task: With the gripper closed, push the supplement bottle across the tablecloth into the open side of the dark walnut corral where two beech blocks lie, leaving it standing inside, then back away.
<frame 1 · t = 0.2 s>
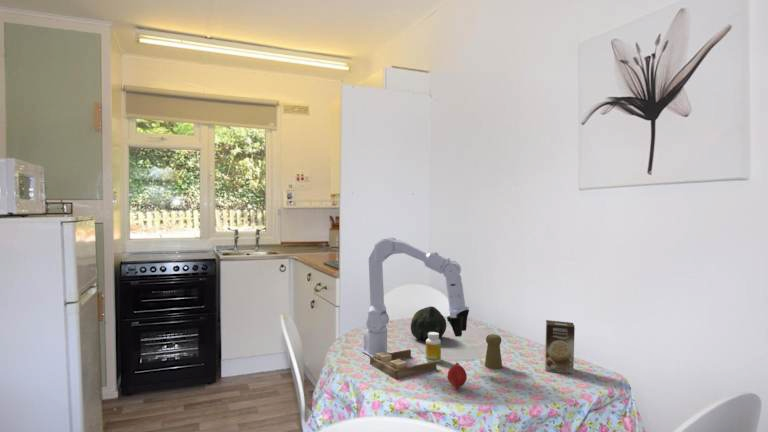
hand: (460, 333, 158), 10 cm above the table, tool pointing down, fingers open, 7 cm apart
squash: (428, 339, 187), on the table
coffee box: (558, 370, 152), on the table
block b: (398, 373, 147), resting in corral
onion: (456, 388, 135), on the table
supplement bottle: (433, 360, 161), on the table
block a: (383, 365, 155), on the table
cork: (493, 366, 155), on the table
corral: (403, 366, 154), on the table
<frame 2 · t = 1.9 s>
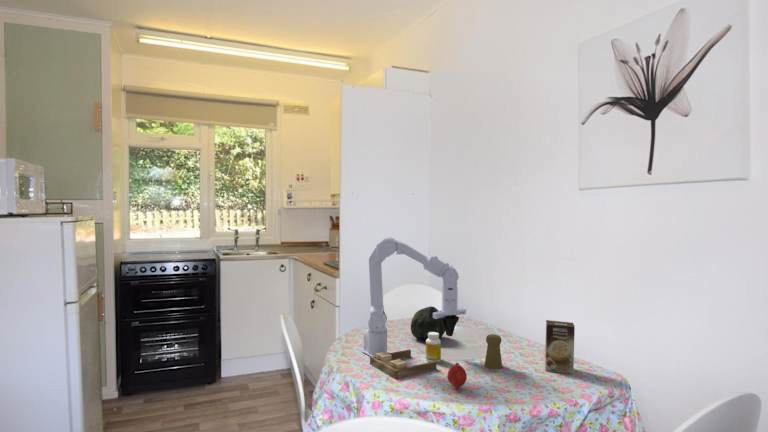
hand: (449, 335, 165), 8 cm above the table, tool pointing down, fingers closed
nothing on the table moved.
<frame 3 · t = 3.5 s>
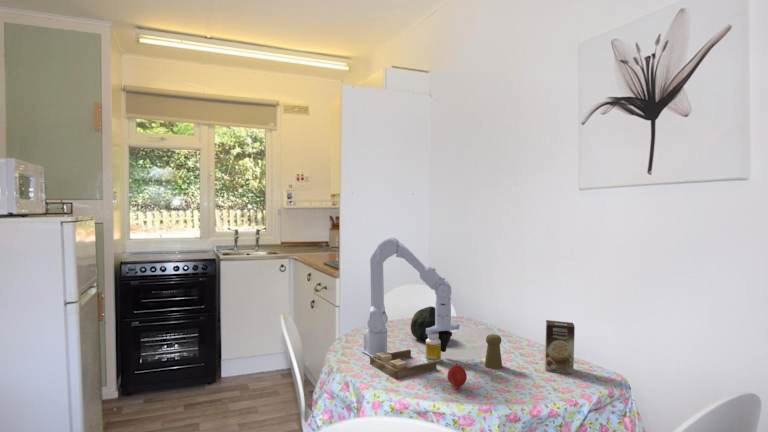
hand: (442, 351, 163), 2 cm above the table, tool pointing down, fingers closed
supplement bottle: (433, 360, 161), on the table, touching gripper
everything else where it was.
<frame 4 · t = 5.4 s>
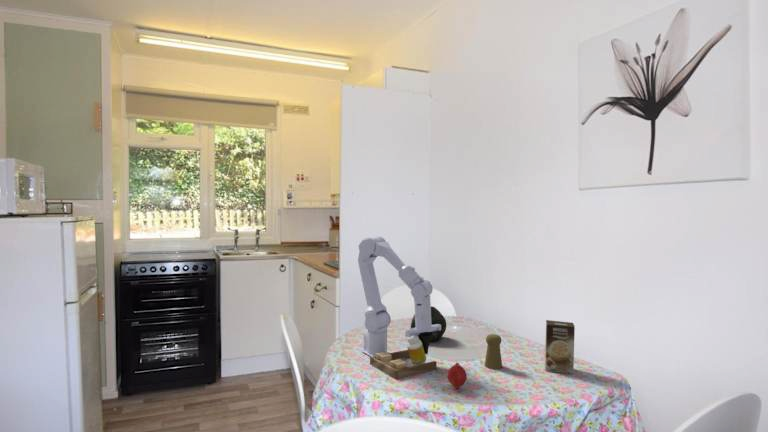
hand: (424, 353, 157), 3 cm above the table, tool pointing down, fingers closed, pressing on supplement bottle
supplement bottle: (419, 362, 157), point 1 cm above the table, touching gripper
everything else where it was.
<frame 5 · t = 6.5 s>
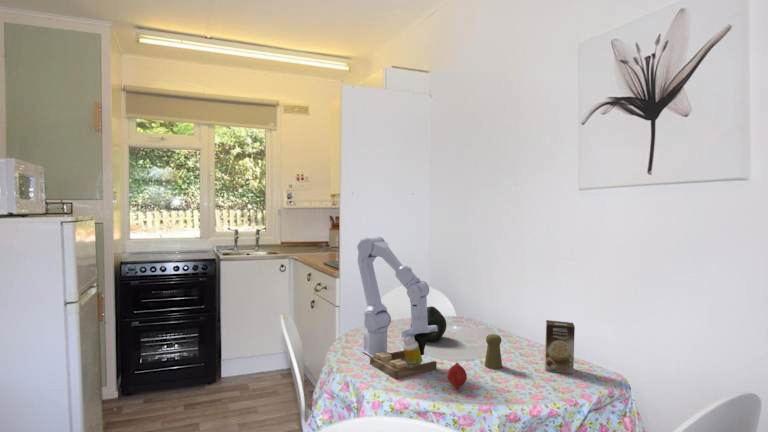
hand: (420, 354, 156), 3 cm above the table, tool pointing down, fingers closed, pressing on supplement bottle
supplement bottle: (415, 363, 156), point 1 cm above the table, touching gripper
everything else where it was.
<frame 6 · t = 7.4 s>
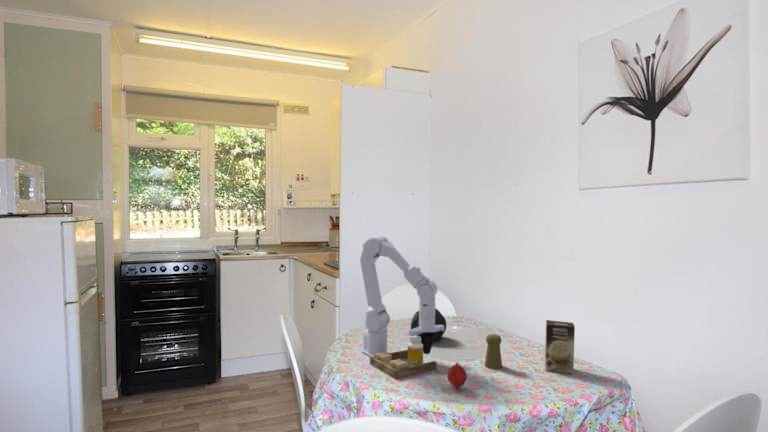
hand: (426, 353, 159), 3 cm above the table, tool pointing down, fingers closed
supplement bottle: (415, 365, 156), on the table
everything else where it was.
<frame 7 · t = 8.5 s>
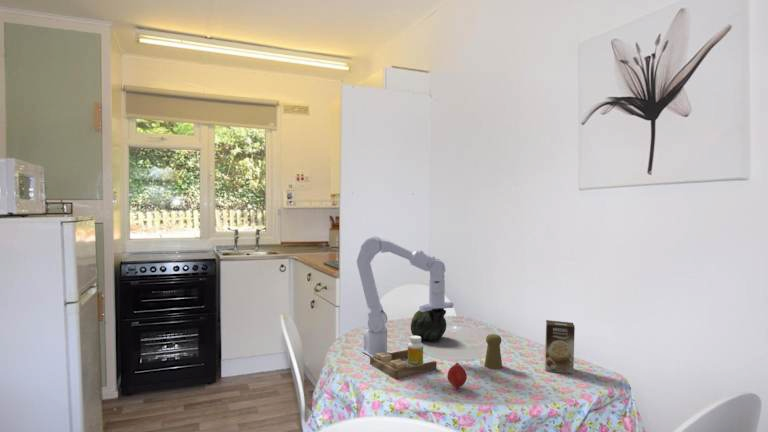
hand: (436, 329, 164), 10 cm above the table, tool pointing down, fingers closed
nothing on the table moved.
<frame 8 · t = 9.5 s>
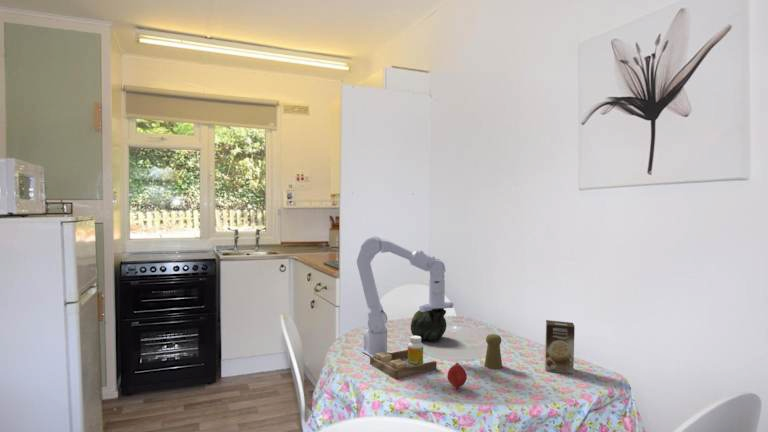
hand: (436, 329, 164), 10 cm above the table, tool pointing down, fingers closed
nothing on the table moved.
at the end: supplement bottle inside the target area on the corral (4.6 cm from its centre), point 0.0 cm above the corral's base; supplement bottle tilted 0°; supplement bottle moved 8.5 cm from its start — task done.
